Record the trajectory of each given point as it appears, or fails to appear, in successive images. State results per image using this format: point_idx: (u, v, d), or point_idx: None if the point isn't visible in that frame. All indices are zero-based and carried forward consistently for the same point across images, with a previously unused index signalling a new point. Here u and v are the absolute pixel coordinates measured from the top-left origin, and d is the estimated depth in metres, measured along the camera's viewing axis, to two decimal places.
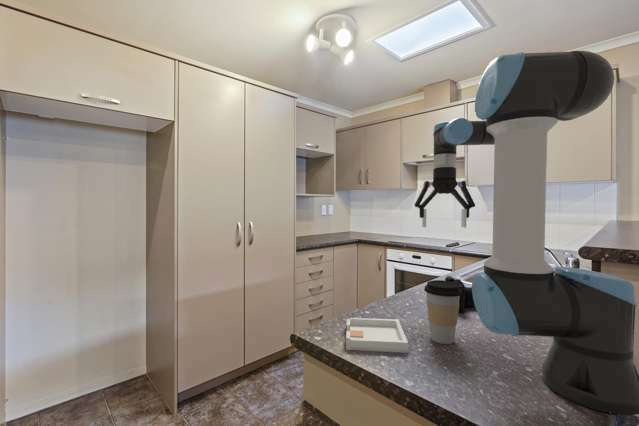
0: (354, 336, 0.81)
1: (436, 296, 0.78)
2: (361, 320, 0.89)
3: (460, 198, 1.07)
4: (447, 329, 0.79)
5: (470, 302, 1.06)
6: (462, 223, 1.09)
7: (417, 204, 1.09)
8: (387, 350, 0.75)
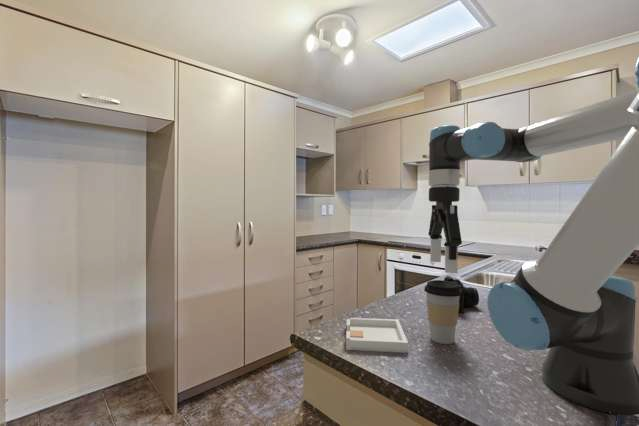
0: (354, 336, 0.81)
1: (436, 296, 0.78)
2: (361, 320, 0.89)
3: (444, 230, 0.76)
4: (447, 329, 0.79)
5: (470, 302, 1.06)
6: None
7: (429, 232, 0.91)
8: (387, 350, 0.75)
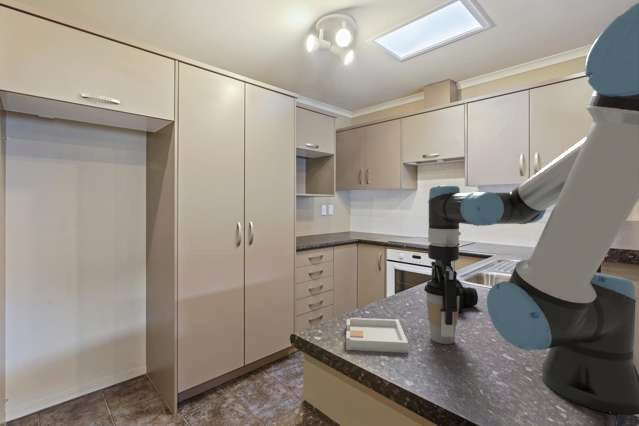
0: (354, 336, 0.81)
1: (436, 296, 0.78)
2: (361, 320, 0.89)
3: None
4: None
5: (469, 302, 1.06)
6: None
7: None
8: (387, 350, 0.75)
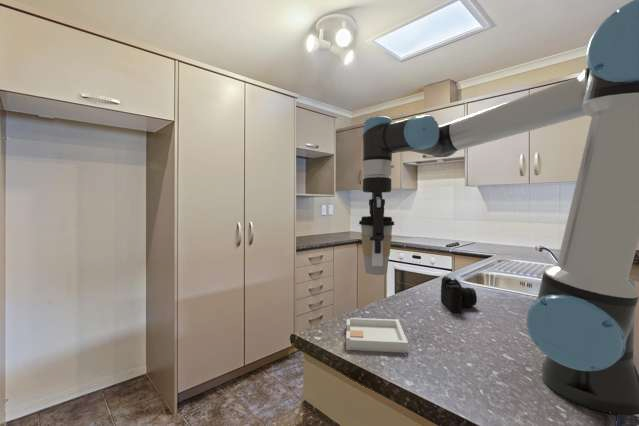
0: (354, 336, 0.81)
1: (367, 227, 0.79)
2: (361, 320, 0.89)
3: None
4: None
5: (467, 302, 1.06)
6: None
7: None
8: (387, 350, 0.75)
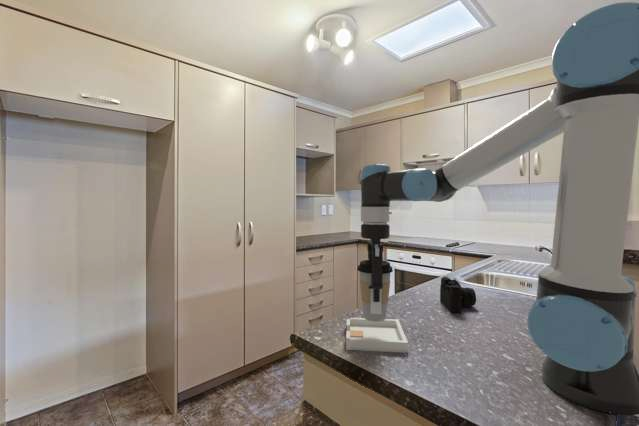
0: (354, 336, 0.81)
1: (366, 274, 0.79)
2: (361, 320, 0.89)
3: None
4: None
5: (467, 302, 1.06)
6: None
7: None
8: (387, 350, 0.75)
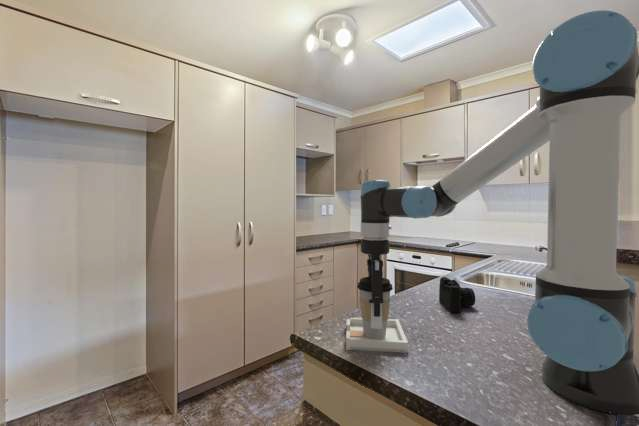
0: (354, 336, 0.81)
1: (365, 292, 0.79)
2: (361, 320, 0.89)
3: (371, 285, 0.78)
4: None
5: (466, 302, 1.05)
6: None
7: None
8: (387, 350, 0.75)
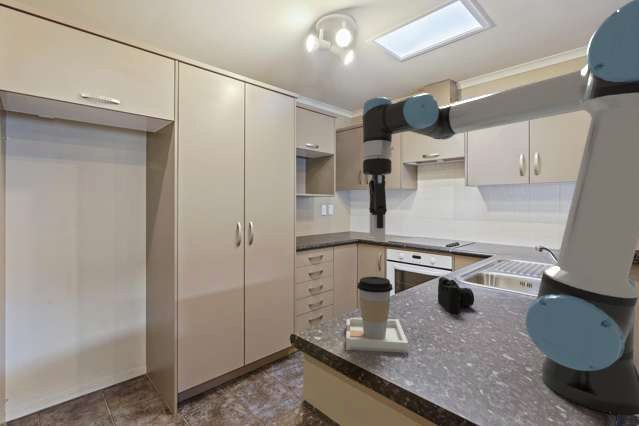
0: (354, 336, 0.81)
1: (365, 292, 0.79)
2: (361, 320, 0.89)
3: (374, 200, 0.77)
4: (376, 324, 0.79)
5: (465, 302, 1.05)
6: None
7: (369, 208, 0.92)
8: (387, 350, 0.75)
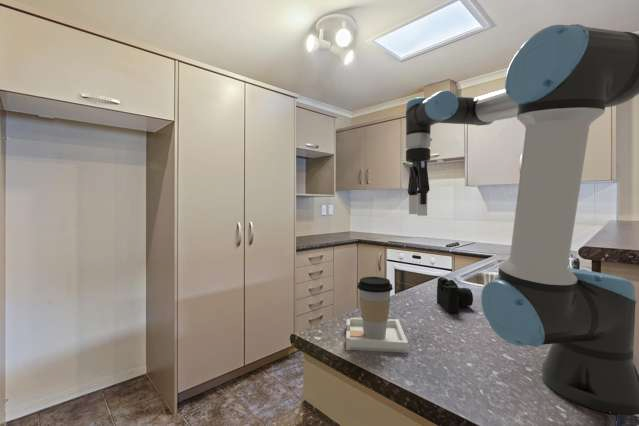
0: (354, 336, 0.81)
1: (365, 292, 0.79)
2: (361, 320, 0.89)
3: (417, 182, 0.94)
4: (376, 324, 0.79)
5: (464, 302, 1.05)
6: None
7: (408, 191, 1.08)
8: (387, 350, 0.75)
